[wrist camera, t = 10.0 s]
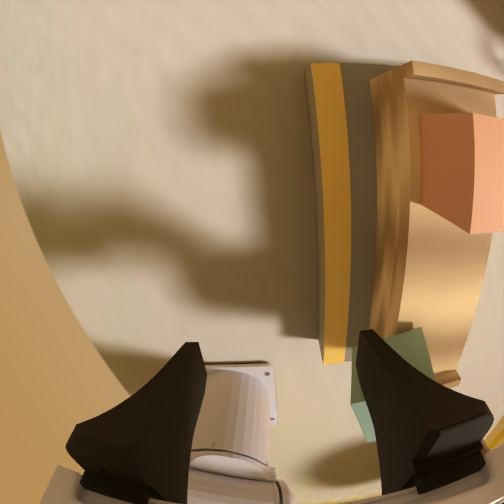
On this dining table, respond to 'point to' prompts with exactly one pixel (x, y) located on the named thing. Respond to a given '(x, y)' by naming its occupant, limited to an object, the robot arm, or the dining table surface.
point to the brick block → (463, 169)
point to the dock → (344, 200)
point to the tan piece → (424, 216)
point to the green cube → (409, 349)
